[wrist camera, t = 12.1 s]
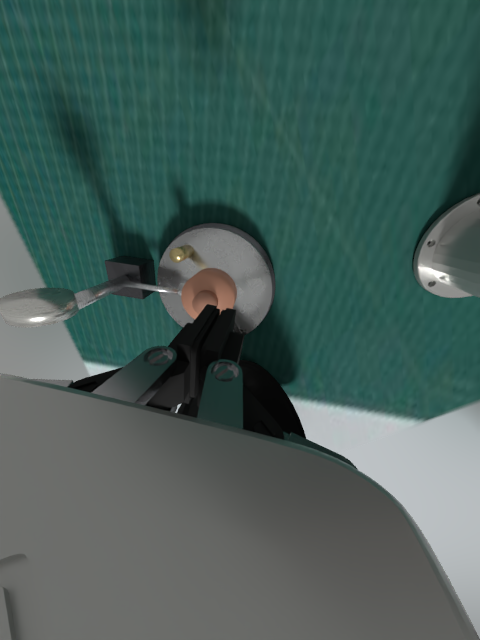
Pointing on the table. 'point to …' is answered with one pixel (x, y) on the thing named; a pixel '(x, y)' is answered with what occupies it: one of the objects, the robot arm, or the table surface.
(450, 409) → the table surface
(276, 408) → the car wheel rim
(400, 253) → the table surface
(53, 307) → the metal lever
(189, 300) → the cover
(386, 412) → the table surface
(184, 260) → the disc
